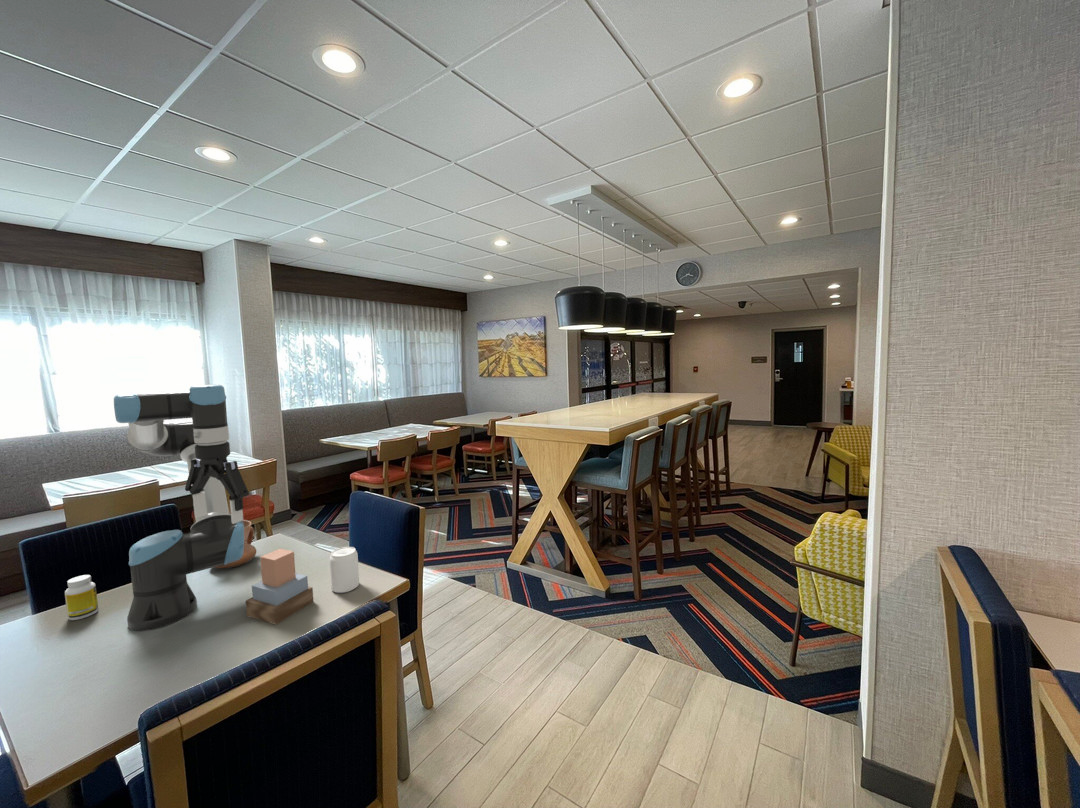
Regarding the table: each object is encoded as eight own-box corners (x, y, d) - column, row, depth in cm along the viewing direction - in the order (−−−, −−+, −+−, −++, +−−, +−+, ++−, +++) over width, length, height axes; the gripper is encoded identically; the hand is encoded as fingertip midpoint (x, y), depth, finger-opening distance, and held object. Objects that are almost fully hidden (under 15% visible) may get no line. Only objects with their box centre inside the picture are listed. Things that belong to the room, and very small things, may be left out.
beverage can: (349, 595, 135) (346, 558, 134) (326, 593, 136) (323, 556, 135) (364, 582, 143) (362, 546, 141) (342, 580, 144) (340, 545, 143)
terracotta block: (262, 583, 126) (260, 556, 125) (281, 574, 131) (279, 548, 130) (276, 587, 123) (274, 560, 123) (295, 577, 129) (293, 551, 128)
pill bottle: (102, 611, 128) (98, 575, 127) (73, 623, 123) (69, 585, 122) (92, 607, 131) (88, 571, 130) (63, 618, 125) (59, 581, 124)
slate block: (252, 598, 125) (251, 585, 125) (285, 582, 134) (284, 570, 134) (276, 605, 121) (275, 592, 121) (308, 588, 130) (307, 575, 130)
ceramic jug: (229, 576, 149) (226, 535, 148) (193, 572, 152) (191, 532, 150) (271, 554, 166) (269, 518, 165) (238, 551, 169) (236, 515, 168)
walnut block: (247, 617, 125) (245, 600, 124) (285, 596, 136) (284, 580, 135) (276, 625, 120) (275, 608, 120) (313, 603, 131) (312, 587, 131)
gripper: (163, 442, 117) (171, 518, 120) (233, 448, 110) (240, 529, 112) (193, 437, 124) (200, 509, 127) (260, 442, 117) (266, 518, 119)
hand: (218, 518), depth 119 cm, fingers open, 13 cm apart
